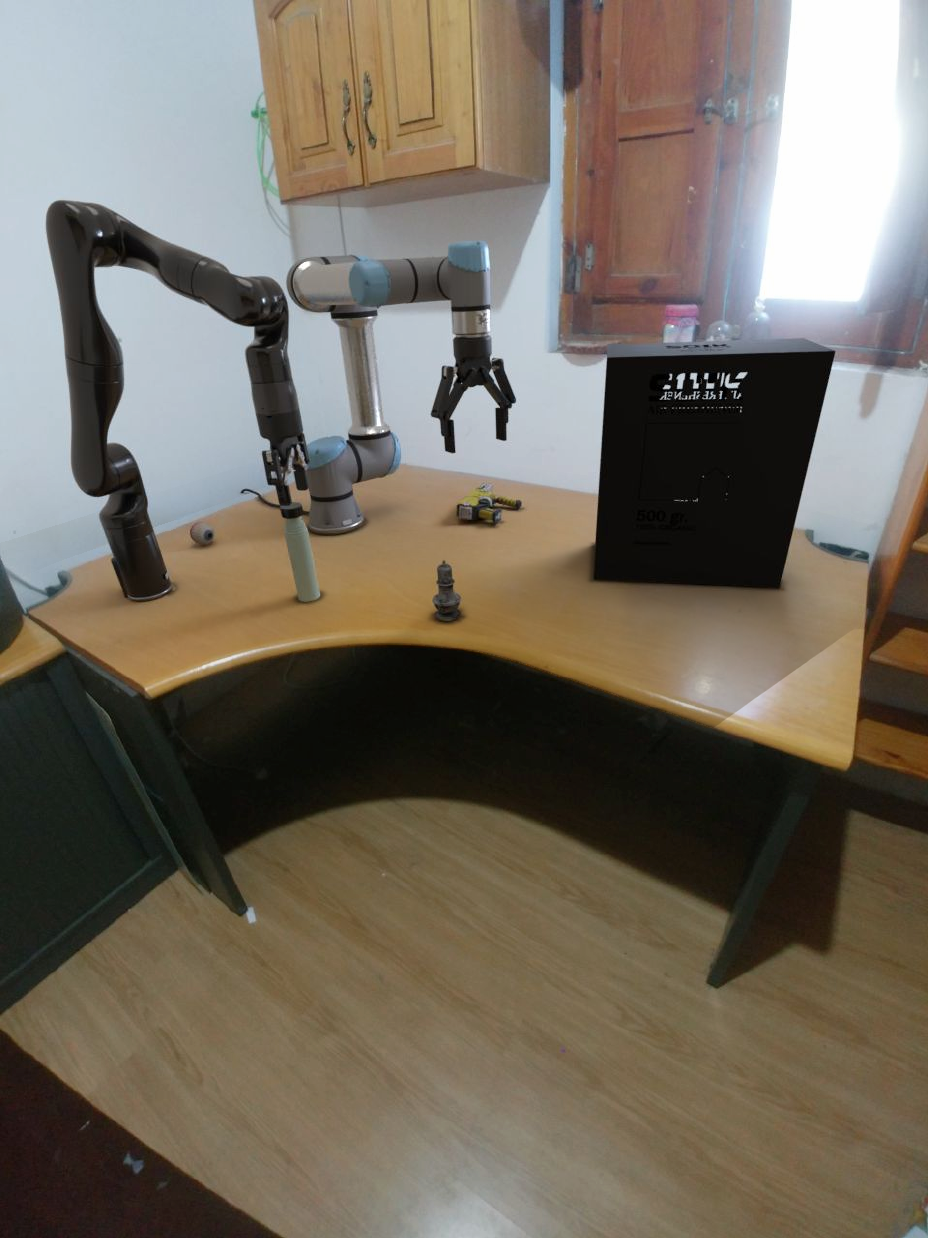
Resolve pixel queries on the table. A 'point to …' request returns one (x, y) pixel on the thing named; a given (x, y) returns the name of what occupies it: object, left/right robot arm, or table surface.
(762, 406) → the cardboard box
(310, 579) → the bottle
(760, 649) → the table surface
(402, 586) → the table surface
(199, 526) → the eyeball
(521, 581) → the table surface
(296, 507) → the cap
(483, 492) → the toy gun
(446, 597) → the salt shaker
